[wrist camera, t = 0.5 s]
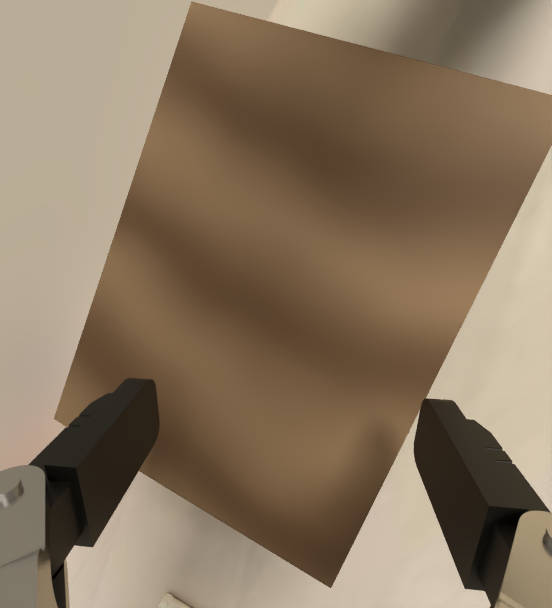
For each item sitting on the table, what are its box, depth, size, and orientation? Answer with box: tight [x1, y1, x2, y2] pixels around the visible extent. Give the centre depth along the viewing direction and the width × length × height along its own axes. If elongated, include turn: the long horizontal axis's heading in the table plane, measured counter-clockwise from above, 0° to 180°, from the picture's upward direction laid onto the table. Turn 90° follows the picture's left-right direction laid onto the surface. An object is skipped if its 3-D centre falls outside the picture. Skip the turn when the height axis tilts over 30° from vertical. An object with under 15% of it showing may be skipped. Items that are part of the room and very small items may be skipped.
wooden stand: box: [54, 2, 552, 588], centre depth 25 cm, size 20×14×24 cm
